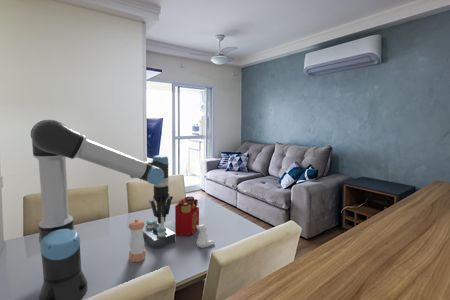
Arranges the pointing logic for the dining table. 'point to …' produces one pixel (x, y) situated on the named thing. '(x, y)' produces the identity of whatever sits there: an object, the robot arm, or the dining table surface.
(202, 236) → the sitting furry creature
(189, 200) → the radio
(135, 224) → the salt shaker
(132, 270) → the dining table surface
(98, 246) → the dining table surface
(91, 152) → the robot arm
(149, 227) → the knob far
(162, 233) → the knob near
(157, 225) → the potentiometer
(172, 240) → the mount
